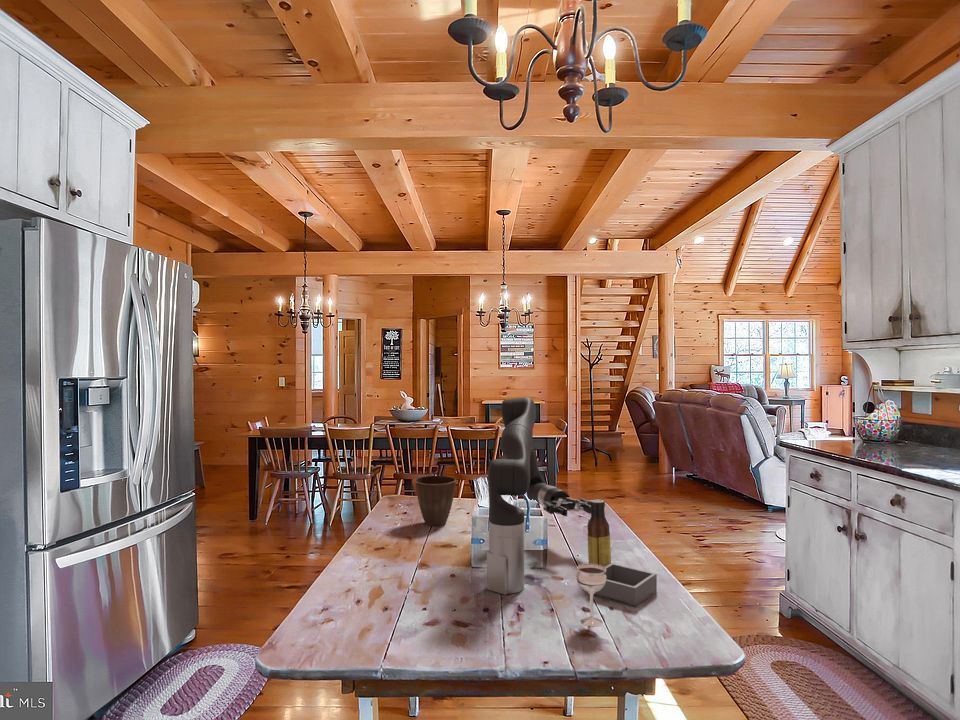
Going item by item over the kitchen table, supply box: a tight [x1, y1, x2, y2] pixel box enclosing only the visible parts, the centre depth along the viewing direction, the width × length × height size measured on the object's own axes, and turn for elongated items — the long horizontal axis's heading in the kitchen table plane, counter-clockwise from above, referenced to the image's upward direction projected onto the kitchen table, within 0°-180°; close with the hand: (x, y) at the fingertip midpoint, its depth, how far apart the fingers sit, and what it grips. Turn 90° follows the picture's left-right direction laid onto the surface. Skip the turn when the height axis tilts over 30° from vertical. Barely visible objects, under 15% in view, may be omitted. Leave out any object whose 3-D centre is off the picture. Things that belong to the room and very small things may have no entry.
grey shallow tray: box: [593, 562, 658, 608], centre depth 151 cm, size 13×13×5 cm
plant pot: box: [414, 475, 457, 527], centre depth 215 cm, size 15×15×16 cm
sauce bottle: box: [587, 498, 612, 567], centre depth 166 cm, size 6×6×20 cm
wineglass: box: [576, 563, 607, 628], centre depth 134 cm, size 7×7×12 cm
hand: (578, 511), depth 177 cm, fingers open, 8 cm apart
